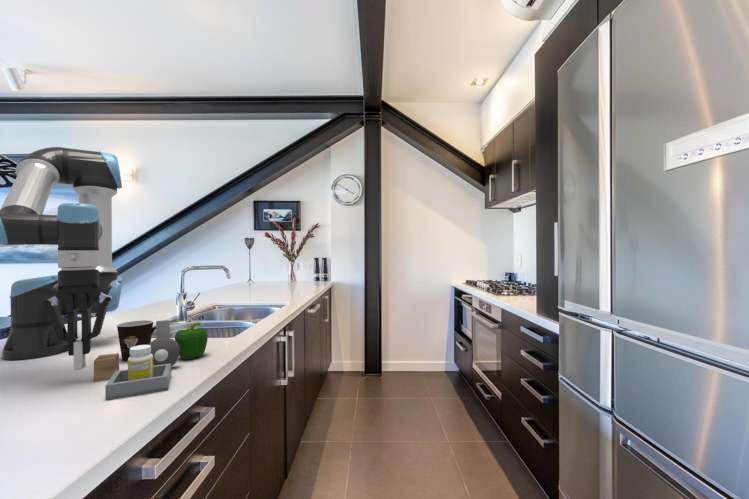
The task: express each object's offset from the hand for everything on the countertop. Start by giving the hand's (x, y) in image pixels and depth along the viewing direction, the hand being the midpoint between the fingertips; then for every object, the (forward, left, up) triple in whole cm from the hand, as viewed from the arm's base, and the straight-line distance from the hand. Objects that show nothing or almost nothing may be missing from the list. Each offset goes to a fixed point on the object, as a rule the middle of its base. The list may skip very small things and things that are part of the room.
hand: (79, 368), depth 82 cm
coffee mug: (-14, +10, -3) cm, 18 cm away
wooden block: (0, +5, -3) cm, 6 cm away
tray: (+11, +14, -3) cm, 18 cm away
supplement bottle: (+11, +14, -3) cm, 18 cm away
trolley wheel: (-2, +17, -3) cm, 17 cm away
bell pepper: (-8, +23, -3) cm, 25 cm away
